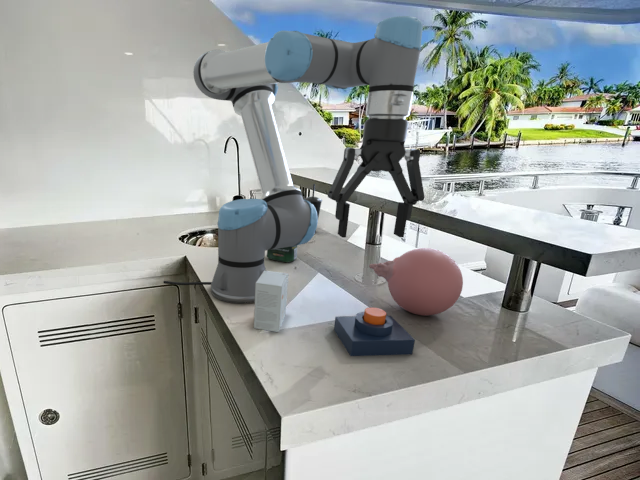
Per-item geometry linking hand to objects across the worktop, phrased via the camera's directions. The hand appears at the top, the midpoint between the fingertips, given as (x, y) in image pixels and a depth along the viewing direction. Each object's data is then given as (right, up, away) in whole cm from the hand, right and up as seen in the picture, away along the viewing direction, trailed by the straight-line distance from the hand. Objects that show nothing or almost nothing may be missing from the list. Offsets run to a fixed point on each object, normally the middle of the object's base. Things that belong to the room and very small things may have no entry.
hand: (370, 235), depth 76 cm
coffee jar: (-12, -4, +49) cm, 51 cm away
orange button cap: (0, -17, -2) cm, 17 cm away
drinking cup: (+4, +8, +85) cm, 85 cm away
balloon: (+14, -17, +14) cm, 26 cm away
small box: (-20, -19, +7) cm, 28 cm away
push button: (0, -21, 0) cm, 21 cm away
